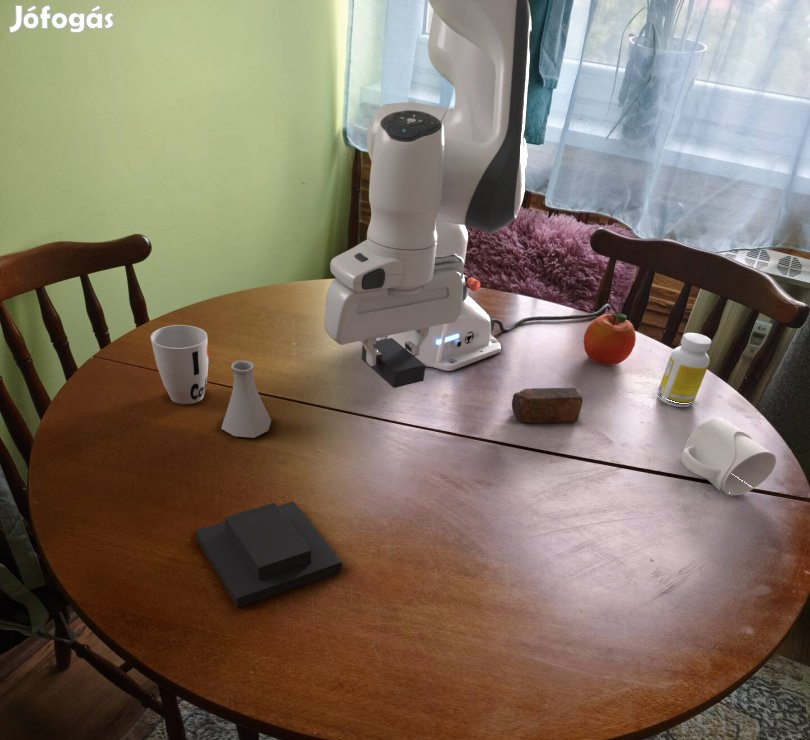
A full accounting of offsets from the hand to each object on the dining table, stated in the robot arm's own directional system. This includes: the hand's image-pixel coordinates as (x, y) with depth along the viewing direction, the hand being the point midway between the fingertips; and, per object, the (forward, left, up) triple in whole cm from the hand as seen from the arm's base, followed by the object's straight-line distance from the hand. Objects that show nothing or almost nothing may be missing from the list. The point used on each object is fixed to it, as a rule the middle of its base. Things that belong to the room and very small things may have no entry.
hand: (392, 359), depth 98 cm
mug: (-39, +31, -13) cm, 51 cm away
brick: (-27, +6, -13) cm, 30 cm away
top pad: (0, 0, -2) cm, 2 cm away
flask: (+18, -11, -13) cm, 25 cm away
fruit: (-53, -6, -13) cm, 55 cm away
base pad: (+27, +17, -13) cm, 34 cm away
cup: (+23, -23, -13) cm, 35 cm away
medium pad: (+27, +17, -11) cm, 34 cm away
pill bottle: (-54, +11, -13) cm, 56 cm away
